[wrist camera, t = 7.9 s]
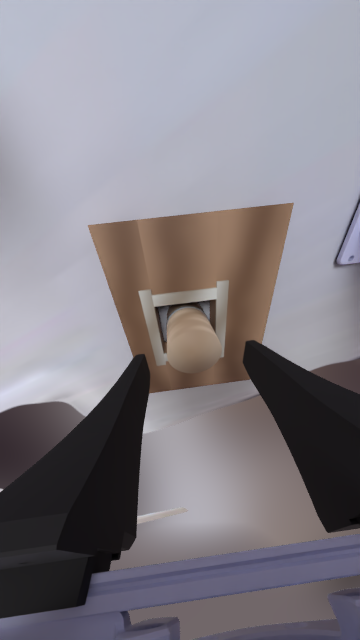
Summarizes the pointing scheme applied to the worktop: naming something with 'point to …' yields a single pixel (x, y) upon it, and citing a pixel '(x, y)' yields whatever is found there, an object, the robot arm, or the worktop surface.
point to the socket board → (194, 281)
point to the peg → (191, 339)
